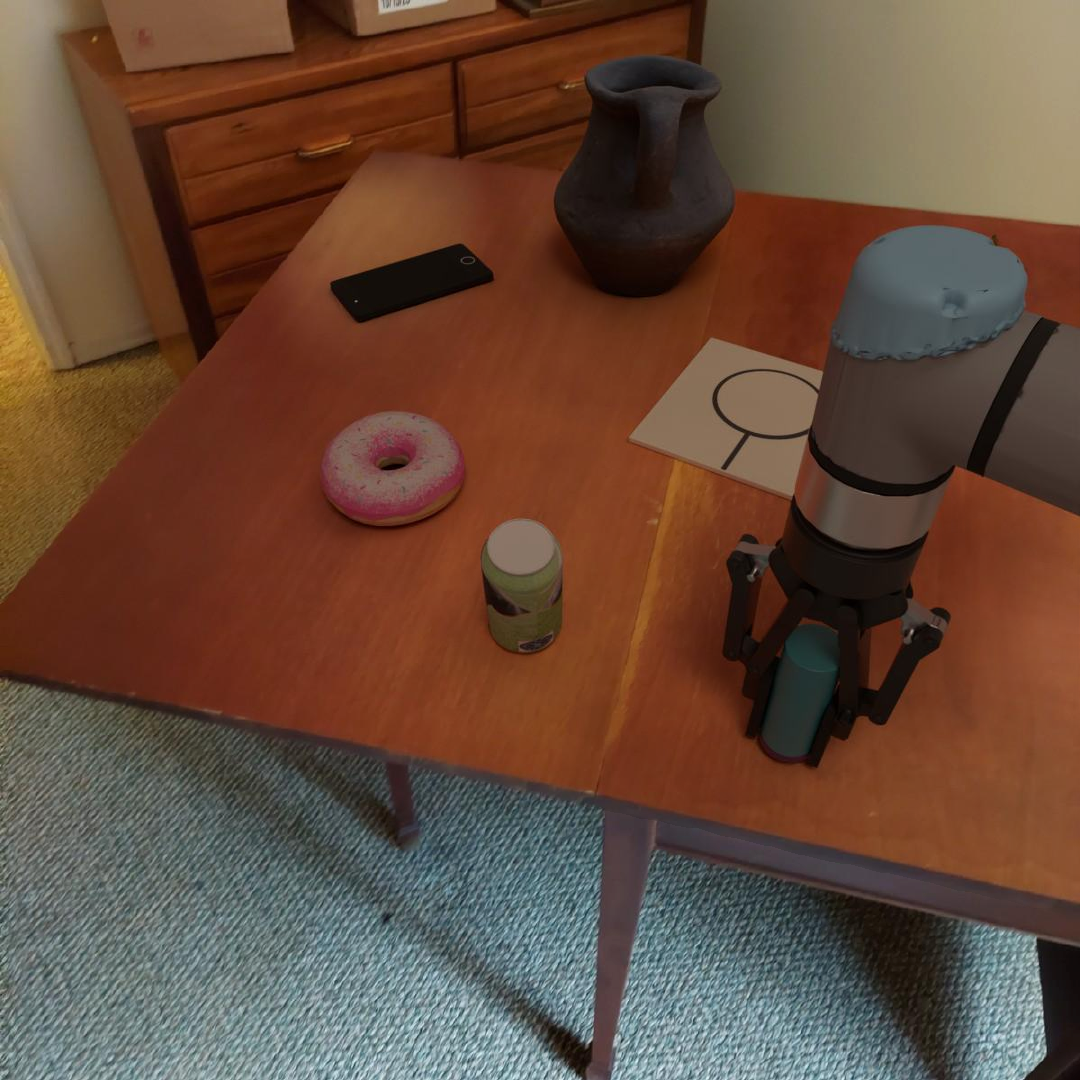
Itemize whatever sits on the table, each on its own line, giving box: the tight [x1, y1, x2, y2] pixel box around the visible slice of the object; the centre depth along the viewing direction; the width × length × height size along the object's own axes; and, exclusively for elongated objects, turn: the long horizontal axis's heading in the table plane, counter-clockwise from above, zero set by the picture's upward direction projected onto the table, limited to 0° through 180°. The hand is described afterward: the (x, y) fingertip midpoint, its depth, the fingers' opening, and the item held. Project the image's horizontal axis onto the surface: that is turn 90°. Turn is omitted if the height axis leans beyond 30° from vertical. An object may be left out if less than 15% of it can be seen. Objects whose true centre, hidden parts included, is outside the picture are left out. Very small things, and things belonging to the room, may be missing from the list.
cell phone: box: [329, 242, 495, 323], centre depth 115 cm, size 9×18×1 cm, turn 120°
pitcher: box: [553, 54, 736, 297], centre depth 107 cm, size 21×22×25 cm
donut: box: [319, 410, 466, 527], centre depth 89 cm, size 14×13×5 cm
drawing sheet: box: [628, 336, 824, 501], centre depth 97 cm, size 20×20×1 cm
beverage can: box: [480, 518, 564, 654], centre depth 74 cm, size 6×7×12 cm
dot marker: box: [758, 622, 840, 764], centre depth 66 cm, size 4×4×11 cm
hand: (787, 736), depth 70 cm, fingers closed on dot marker, 4 cm apart
